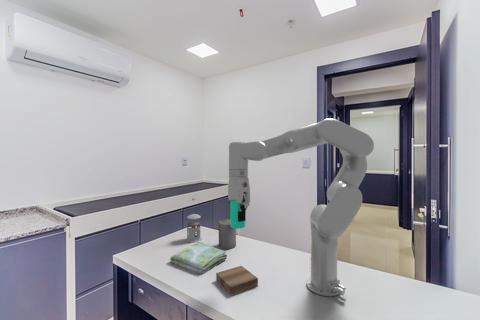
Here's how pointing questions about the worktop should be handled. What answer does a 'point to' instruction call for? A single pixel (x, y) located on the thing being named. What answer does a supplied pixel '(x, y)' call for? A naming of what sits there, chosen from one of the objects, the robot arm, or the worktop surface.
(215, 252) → the towel
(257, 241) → the worktop surface
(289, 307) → the worktop surface
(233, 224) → the candle
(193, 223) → the french press
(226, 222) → the pillar candle
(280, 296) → the worktop surface
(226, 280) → the walnut base
